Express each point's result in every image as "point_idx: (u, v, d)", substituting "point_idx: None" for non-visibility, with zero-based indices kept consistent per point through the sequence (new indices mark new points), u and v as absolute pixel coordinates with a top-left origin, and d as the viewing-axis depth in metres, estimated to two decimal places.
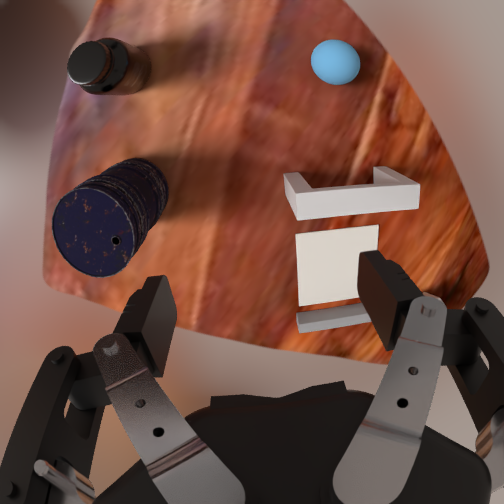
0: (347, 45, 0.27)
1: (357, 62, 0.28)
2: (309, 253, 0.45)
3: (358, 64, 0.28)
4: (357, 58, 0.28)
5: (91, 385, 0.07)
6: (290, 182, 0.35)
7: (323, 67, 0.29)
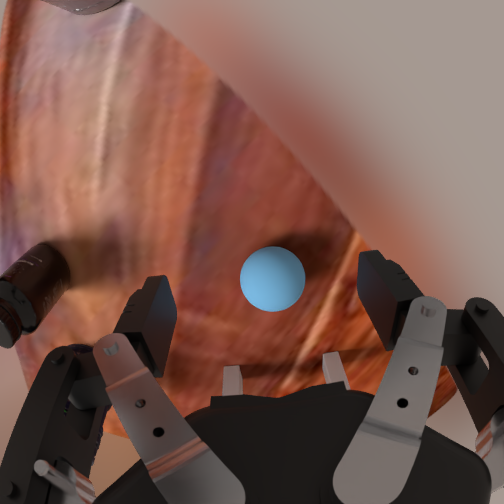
0: (285, 270, 0.25)
1: (298, 291, 0.26)
2: None
3: (299, 291, 0.26)
4: (298, 285, 0.26)
5: (91, 385, 0.07)
6: None
7: (251, 302, 0.27)
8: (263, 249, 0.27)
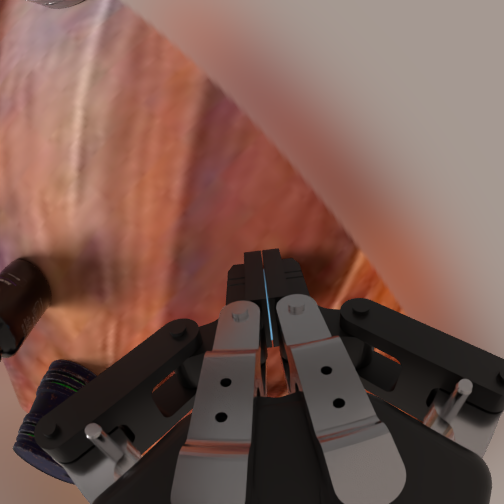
0: None
1: None
2: None
3: None
4: None
5: None
6: None
7: None
8: None
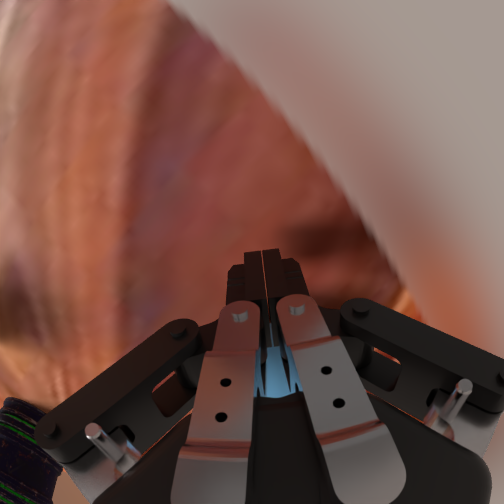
0: None
1: None
2: None
3: None
4: None
5: None
6: None
7: None
8: None
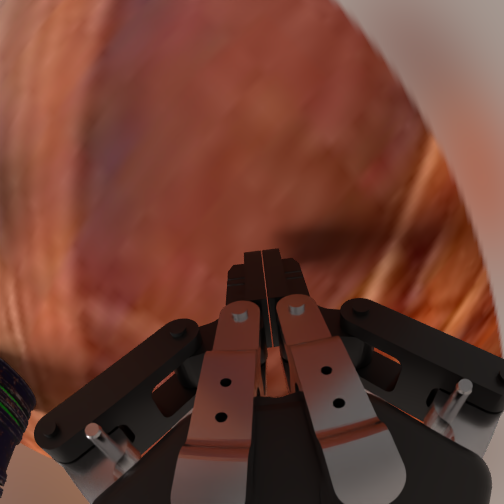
0: None
1: None
2: None
3: None
4: None
5: None
6: None
7: None
8: None
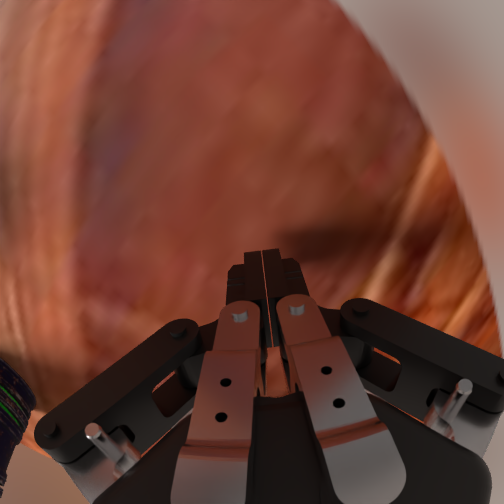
0: None
1: None
2: None
3: None
4: None
5: None
6: None
7: None
8: None
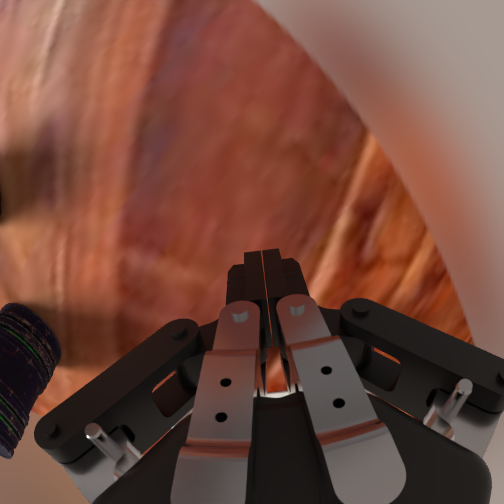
0: None
1: None
2: None
3: None
4: None
5: None
6: None
7: None
8: None
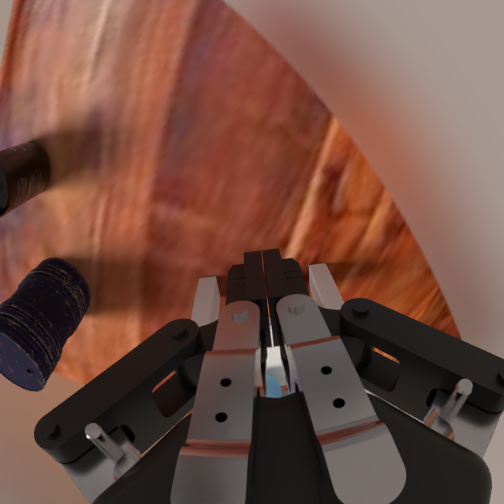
0: (267, 374, 0.42)
1: (275, 385, 0.40)
2: None
3: (276, 386, 0.40)
4: (275, 382, 0.41)
5: None
6: (195, 303, 0.31)
7: None
8: None
